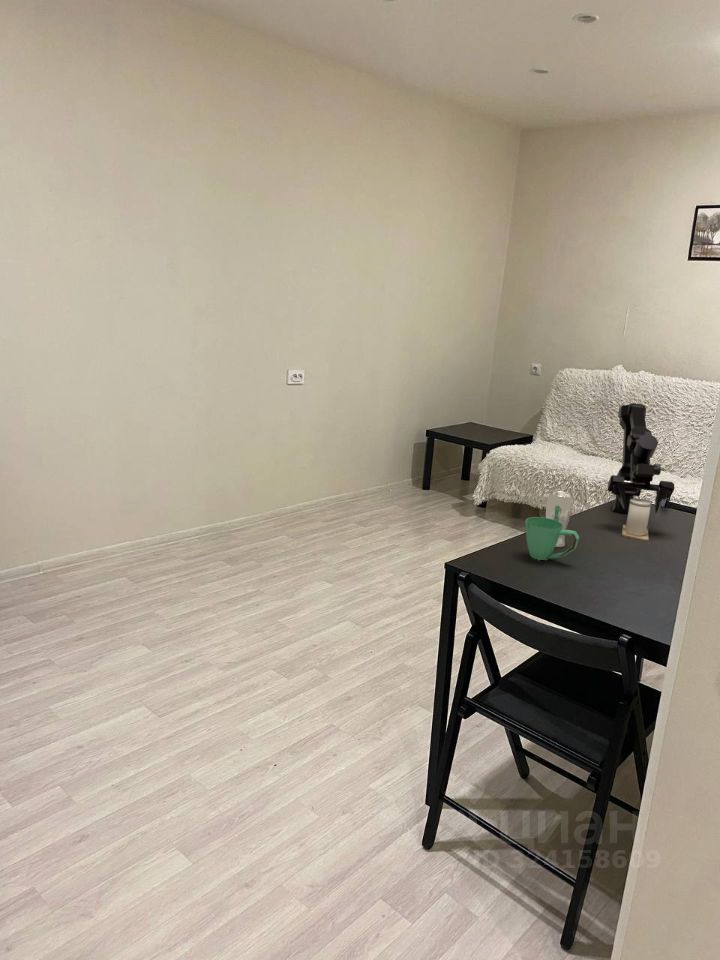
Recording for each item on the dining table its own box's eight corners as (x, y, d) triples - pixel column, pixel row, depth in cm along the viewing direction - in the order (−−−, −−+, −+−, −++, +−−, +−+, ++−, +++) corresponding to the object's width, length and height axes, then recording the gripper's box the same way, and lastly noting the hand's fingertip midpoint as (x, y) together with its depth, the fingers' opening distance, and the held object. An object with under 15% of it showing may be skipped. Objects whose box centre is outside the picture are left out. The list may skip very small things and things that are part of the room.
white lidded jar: (622, 528, 227) (627, 497, 225) (642, 530, 227) (647, 499, 225) (628, 534, 222) (634, 503, 219) (648, 536, 221) (654, 504, 219)
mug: (515, 557, 196) (520, 522, 194) (527, 548, 205) (532, 514, 202) (569, 571, 189) (575, 535, 187) (579, 561, 197) (585, 526, 195)
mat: (622, 525, 233) (623, 523, 233) (647, 530, 231) (648, 527, 230) (622, 536, 222) (622, 533, 222) (648, 540, 220) (648, 538, 219)
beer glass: (542, 538, 215) (549, 489, 211) (566, 542, 213) (574, 492, 209) (540, 545, 208) (547, 494, 205) (565, 549, 206) (572, 498, 203)
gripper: (614, 449, 224) (614, 493, 216) (678, 456, 220) (680, 500, 213) (607, 468, 233) (606, 511, 225) (668, 475, 230) (669, 519, 222)
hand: (640, 510), depth 221 cm, fingers open, 9 cm apart
